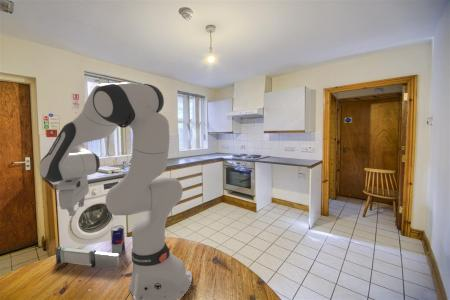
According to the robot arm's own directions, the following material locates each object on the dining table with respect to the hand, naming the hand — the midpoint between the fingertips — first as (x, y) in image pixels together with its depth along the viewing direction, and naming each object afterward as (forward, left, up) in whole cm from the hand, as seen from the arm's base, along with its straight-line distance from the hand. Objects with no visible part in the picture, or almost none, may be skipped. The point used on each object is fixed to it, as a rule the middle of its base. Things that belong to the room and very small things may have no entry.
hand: (77, 210), depth 89 cm
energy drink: (-15, -6, -22) cm, 27 cm away
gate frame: (-7, +4, -21) cm, 23 cm away
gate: (-2, +4, -21) cm, 21 cm away
